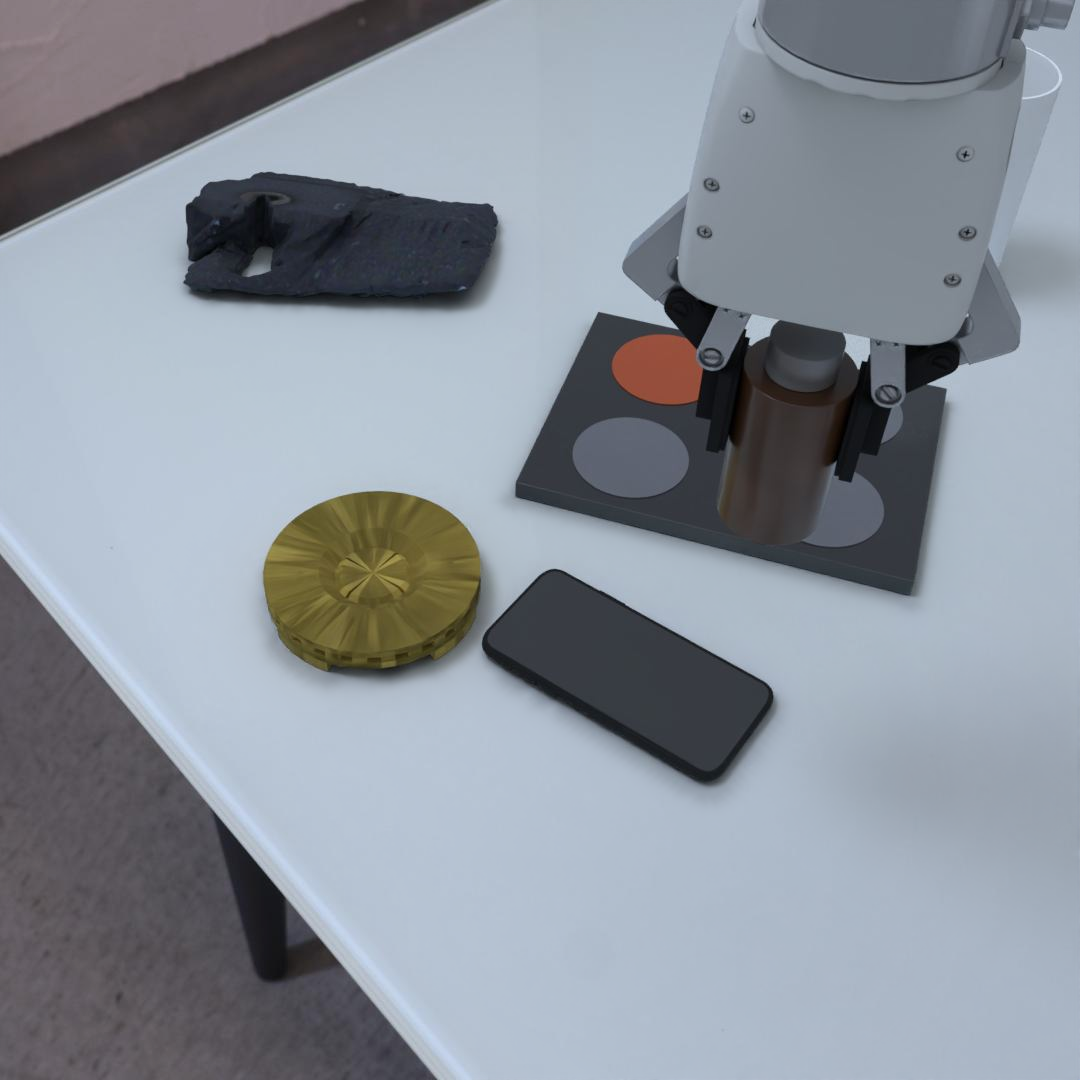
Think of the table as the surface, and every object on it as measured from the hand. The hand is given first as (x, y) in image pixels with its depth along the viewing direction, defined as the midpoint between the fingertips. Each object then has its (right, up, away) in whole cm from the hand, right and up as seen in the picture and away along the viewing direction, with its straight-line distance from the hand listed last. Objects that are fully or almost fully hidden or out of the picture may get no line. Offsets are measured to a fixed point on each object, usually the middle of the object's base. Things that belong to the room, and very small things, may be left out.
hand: (784, 440), depth 52 cm
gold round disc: (-19, -7, +22) cm, 30 cm away
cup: (+20, +16, +45) cm, 52 cm away
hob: (+3, +2, +31) cm, 32 cm away
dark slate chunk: (-24, +17, +45) cm, 54 cm away
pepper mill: (0, -3, +3) cm, 4 cm away
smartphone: (-5, -11, +19) cm, 22 cm away
